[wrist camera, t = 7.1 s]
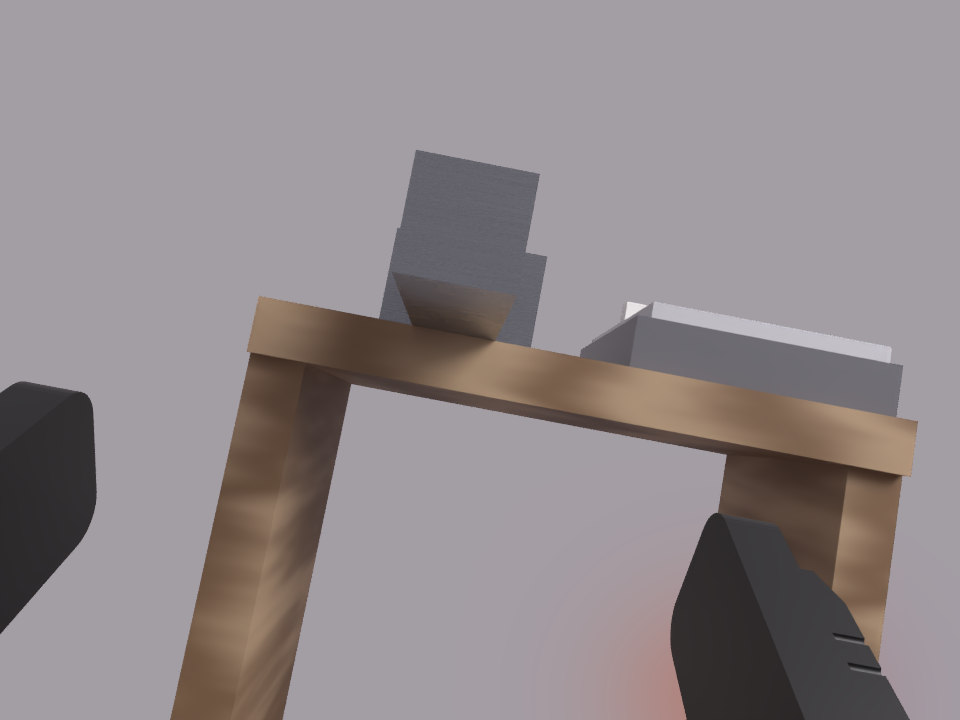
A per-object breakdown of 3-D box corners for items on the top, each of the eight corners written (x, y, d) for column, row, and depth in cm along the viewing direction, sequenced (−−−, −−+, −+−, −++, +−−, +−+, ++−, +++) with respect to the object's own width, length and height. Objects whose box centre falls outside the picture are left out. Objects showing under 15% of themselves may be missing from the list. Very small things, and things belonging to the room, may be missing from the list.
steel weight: (512, 371, 37) (526, 293, 37) (579, 307, 17) (608, 146, 18) (393, 349, 37) (409, 270, 37) (328, 259, 17) (362, 98, 18)
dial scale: (751, 422, 40) (764, 332, 41) (895, 419, 27) (913, 286, 28) (571, 388, 40) (586, 298, 41) (629, 368, 27) (651, 236, 27)
